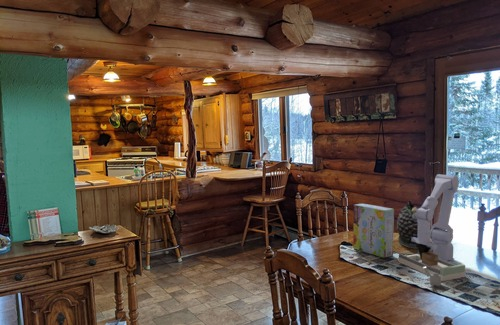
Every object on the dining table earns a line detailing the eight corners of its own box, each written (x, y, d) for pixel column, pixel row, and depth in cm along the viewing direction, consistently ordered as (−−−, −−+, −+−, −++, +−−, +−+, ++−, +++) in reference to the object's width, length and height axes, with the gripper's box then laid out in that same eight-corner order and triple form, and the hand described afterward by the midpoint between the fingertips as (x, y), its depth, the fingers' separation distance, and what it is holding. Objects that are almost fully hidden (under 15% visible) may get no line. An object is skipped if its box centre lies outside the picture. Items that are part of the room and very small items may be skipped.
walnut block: (429, 261, 197) (430, 251, 196) (437, 264, 192) (438, 254, 192) (421, 262, 195) (422, 252, 195) (429, 266, 190) (429, 255, 190)
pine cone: (431, 249, 223) (432, 205, 220) (404, 250, 223) (405, 206, 221) (416, 239, 244) (417, 199, 241) (391, 239, 244) (392, 199, 241)
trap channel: (419, 258, 209) (419, 248, 209) (465, 276, 183) (465, 265, 182) (398, 261, 204) (398, 251, 204) (441, 281, 178) (442, 269, 178)
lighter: (439, 284, 175) (440, 266, 174) (440, 285, 173) (441, 268, 172) (422, 283, 176) (422, 265, 176) (423, 284, 175) (423, 267, 174)
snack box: (394, 255, 214) (395, 208, 212) (384, 258, 209) (384, 210, 207) (362, 246, 232) (362, 202, 229) (352, 248, 227) (352, 204, 225)
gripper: (406, 229, 202) (406, 255, 203) (428, 237, 188) (428, 264, 189) (417, 228, 204) (417, 254, 205) (440, 235, 190) (439, 263, 192)
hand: (423, 259), depth 197 cm, fingers closed
